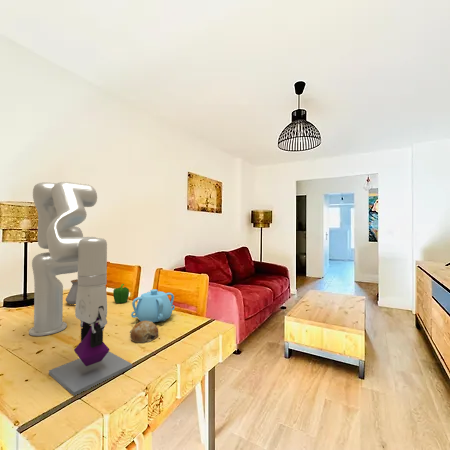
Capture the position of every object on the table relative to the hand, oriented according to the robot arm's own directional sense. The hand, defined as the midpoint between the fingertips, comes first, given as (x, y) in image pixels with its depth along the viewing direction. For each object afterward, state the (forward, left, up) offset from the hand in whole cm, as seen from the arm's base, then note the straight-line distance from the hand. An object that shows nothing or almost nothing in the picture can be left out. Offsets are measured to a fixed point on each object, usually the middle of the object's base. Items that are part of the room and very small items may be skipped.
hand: (91, 342), depth 72 cm
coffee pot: (-69, +26, -8) cm, 74 cm away
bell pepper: (-56, +43, -8) cm, 71 cm away
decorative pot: (-19, +37, -8) cm, 42 cm away
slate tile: (0, 0, -8) cm, 8 cm away
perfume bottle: (0, 0, -6) cm, 6 cm away
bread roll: (-7, +23, -9) cm, 25 cm away
